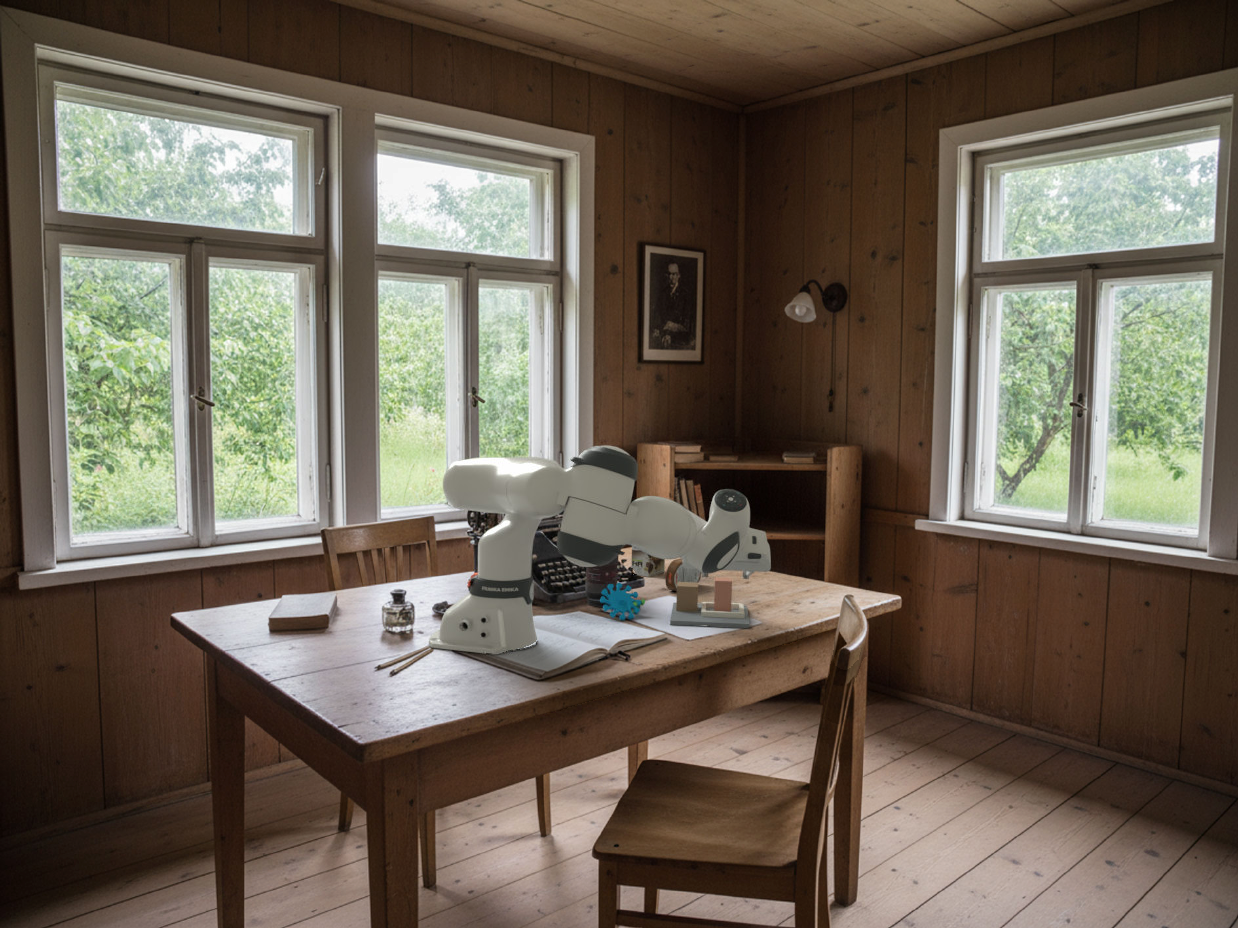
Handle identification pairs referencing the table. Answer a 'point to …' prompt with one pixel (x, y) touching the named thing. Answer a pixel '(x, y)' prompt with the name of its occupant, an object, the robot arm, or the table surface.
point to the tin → (680, 574)
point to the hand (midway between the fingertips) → (725, 575)
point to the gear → (621, 601)
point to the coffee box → (646, 563)
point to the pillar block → (723, 594)
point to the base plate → (704, 610)
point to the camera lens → (600, 581)
